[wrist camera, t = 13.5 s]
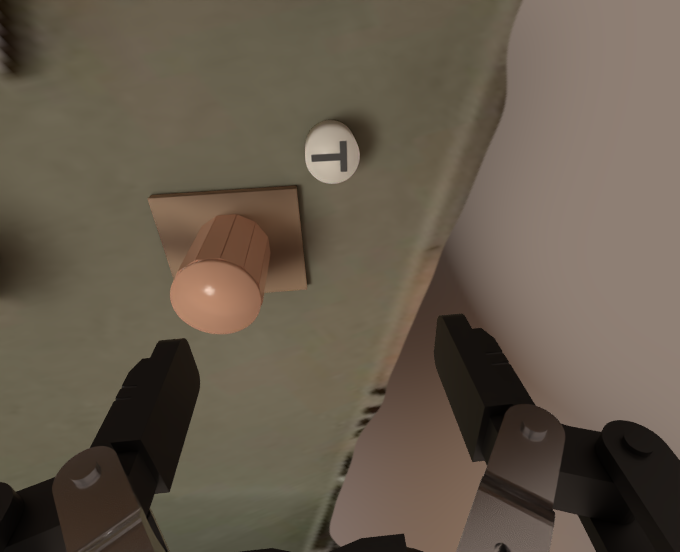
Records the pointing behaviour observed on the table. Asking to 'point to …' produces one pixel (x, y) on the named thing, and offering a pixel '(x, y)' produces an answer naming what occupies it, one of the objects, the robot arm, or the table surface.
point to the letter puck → (331, 152)
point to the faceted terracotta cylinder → (222, 276)
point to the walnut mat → (255, 204)
